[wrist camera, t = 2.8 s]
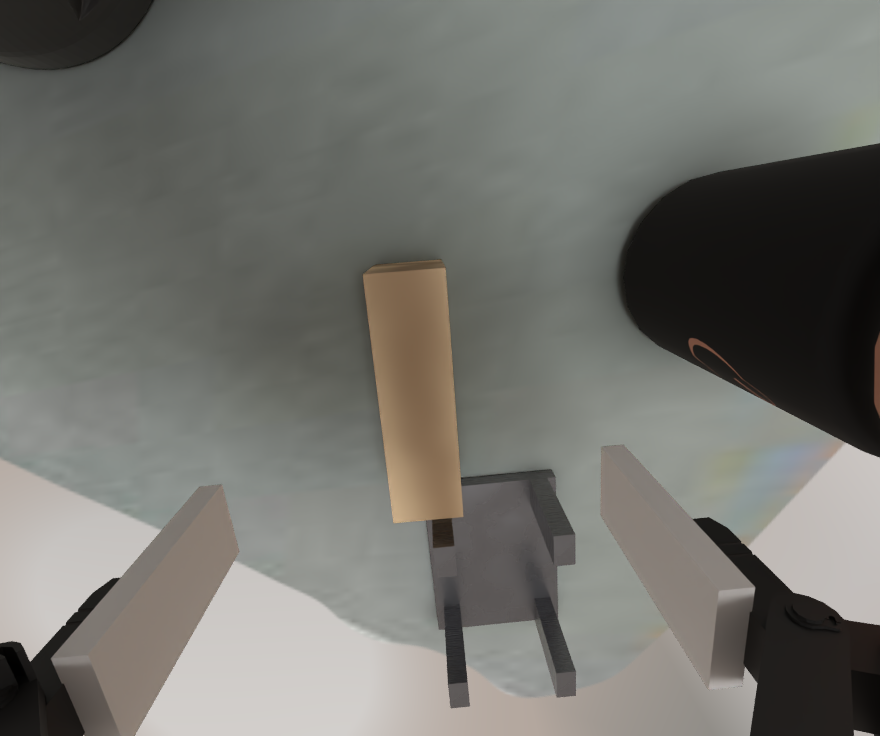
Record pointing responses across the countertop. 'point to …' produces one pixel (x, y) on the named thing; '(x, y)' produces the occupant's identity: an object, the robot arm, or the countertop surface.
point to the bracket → (502, 568)
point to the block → (415, 387)
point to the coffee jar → (773, 285)
